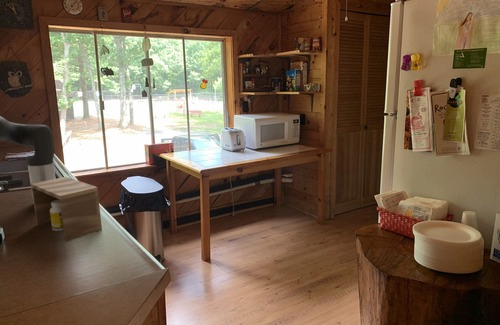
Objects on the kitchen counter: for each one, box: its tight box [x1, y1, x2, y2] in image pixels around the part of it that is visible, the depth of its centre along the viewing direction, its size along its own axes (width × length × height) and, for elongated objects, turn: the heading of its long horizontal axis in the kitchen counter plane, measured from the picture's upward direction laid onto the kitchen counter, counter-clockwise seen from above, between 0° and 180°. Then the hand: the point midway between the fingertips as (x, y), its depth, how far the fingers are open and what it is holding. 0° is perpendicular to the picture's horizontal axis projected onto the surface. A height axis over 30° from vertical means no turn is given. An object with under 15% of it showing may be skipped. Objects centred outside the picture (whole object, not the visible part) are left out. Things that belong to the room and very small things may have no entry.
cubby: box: [30, 176, 103, 243], centre depth 124 cm, size 23×12×15 cm, turn 51°
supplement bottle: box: [50, 200, 64, 232], centre depth 124 cm, size 5×5×10 cm
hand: (16, 179), depth 112 cm, fingers open, 8 cm apart
